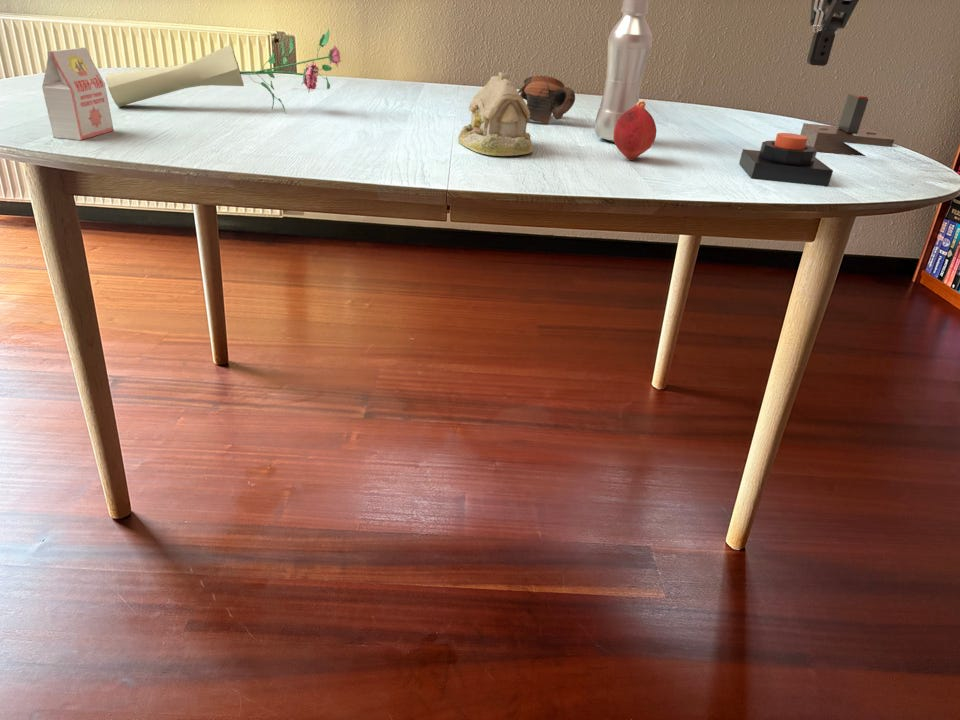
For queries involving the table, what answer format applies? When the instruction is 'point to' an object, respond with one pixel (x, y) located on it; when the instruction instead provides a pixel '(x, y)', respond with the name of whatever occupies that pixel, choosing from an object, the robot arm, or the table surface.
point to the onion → (635, 131)
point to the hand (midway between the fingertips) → (816, 64)
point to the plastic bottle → (624, 66)
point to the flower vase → (205, 75)
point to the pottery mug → (546, 98)
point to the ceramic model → (498, 120)
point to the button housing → (785, 165)
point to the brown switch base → (842, 139)
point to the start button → (791, 141)
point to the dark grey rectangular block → (853, 113)
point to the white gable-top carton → (75, 95)
